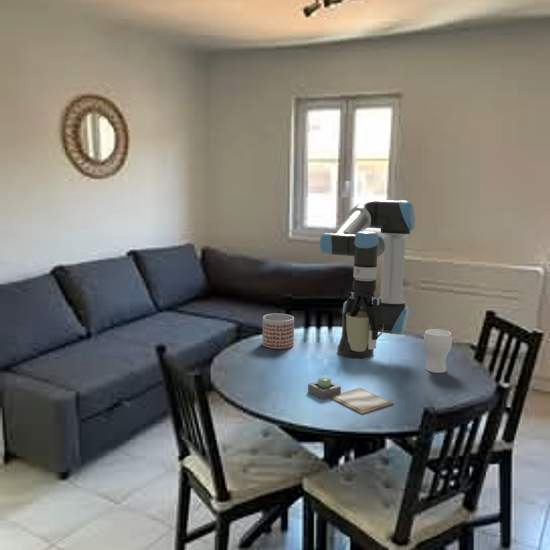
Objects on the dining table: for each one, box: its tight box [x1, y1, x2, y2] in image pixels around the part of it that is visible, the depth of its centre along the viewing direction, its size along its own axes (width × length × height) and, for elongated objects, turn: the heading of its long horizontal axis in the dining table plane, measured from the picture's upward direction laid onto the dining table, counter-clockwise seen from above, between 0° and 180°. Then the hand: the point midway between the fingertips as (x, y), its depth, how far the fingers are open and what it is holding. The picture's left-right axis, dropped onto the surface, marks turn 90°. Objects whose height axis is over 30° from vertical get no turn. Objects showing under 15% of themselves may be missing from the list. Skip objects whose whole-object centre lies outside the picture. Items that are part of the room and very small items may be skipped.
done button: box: [317, 376, 332, 389], centre depth 196 cm, size 4×4×3 cm
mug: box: [346, 312, 384, 352], centre depth 189 cm, size 11×10×12 cm
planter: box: [262, 313, 295, 350], centre depth 249 cm, size 14×14×13 cm
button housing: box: [307, 380, 342, 401], centre depth 196 cm, size 8×8×3 cm
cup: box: [422, 328, 453, 374], centre depth 220 cm, size 11×11×15 cm
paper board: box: [328, 387, 394, 415], centre depth 190 cm, size 16×14×1 cm
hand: (361, 344), depth 190 cm, fingers closed on mug, 9 cm apart
